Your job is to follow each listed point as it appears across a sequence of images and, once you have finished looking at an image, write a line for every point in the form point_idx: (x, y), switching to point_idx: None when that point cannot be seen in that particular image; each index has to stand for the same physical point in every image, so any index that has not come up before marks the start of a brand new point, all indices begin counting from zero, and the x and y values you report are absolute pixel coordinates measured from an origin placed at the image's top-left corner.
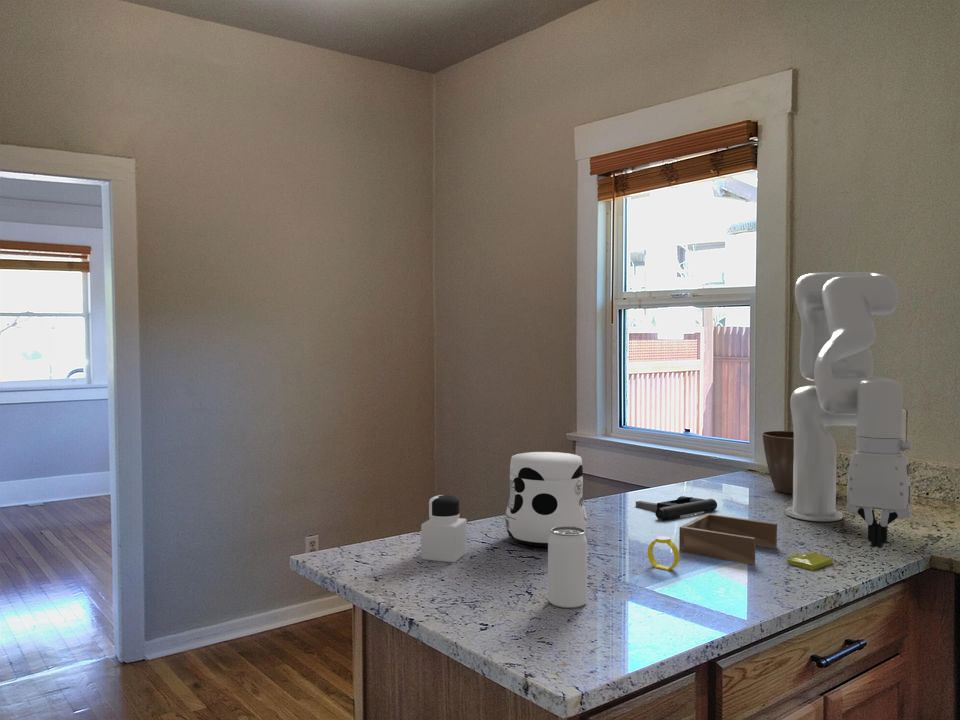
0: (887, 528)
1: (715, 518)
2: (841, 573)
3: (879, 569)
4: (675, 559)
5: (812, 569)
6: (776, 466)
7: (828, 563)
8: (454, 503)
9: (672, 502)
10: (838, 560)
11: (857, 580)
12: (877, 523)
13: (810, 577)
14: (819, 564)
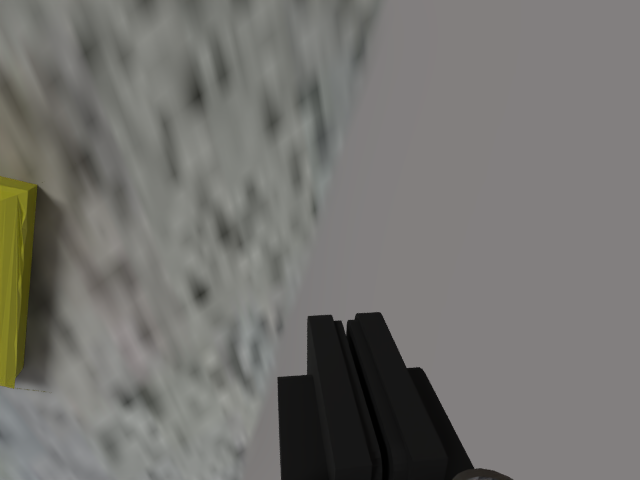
0: (467, 456)
1: None
2: (159, 330)
3: (303, 133)
4: None
5: (21, 369)
6: None
7: (29, 229)
8: None
9: None
10: (27, 76)
11: (254, 381)
12: (369, 473)
13: (76, 459)
14: (17, 322)
